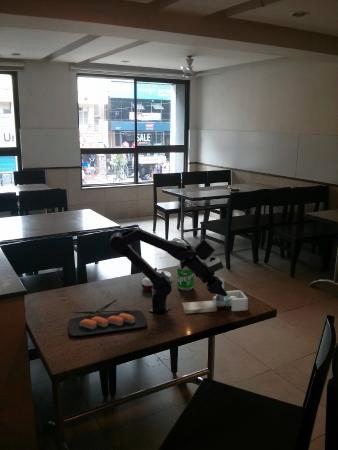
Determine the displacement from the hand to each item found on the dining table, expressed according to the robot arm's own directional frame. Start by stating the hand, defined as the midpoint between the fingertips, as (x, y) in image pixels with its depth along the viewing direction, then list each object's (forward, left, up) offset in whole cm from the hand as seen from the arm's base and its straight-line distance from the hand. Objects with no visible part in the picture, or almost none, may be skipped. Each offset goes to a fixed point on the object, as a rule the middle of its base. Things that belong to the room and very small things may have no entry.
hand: (223, 291), depth 168 cm
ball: (+2, -3, -5) cm, 7 cm away
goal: (+3, -4, -7) cm, 9 cm away
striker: (-1, +1, -5) cm, 5 cm away
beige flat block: (-6, +8, -7) cm, 12 cm away
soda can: (+12, +22, -7) cm, 26 cm away
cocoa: (+2, +36, -7) cm, 37 cm away
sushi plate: (-28, +39, -8) cm, 49 cm away
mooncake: (+16, +38, -8) cm, 42 cm away
